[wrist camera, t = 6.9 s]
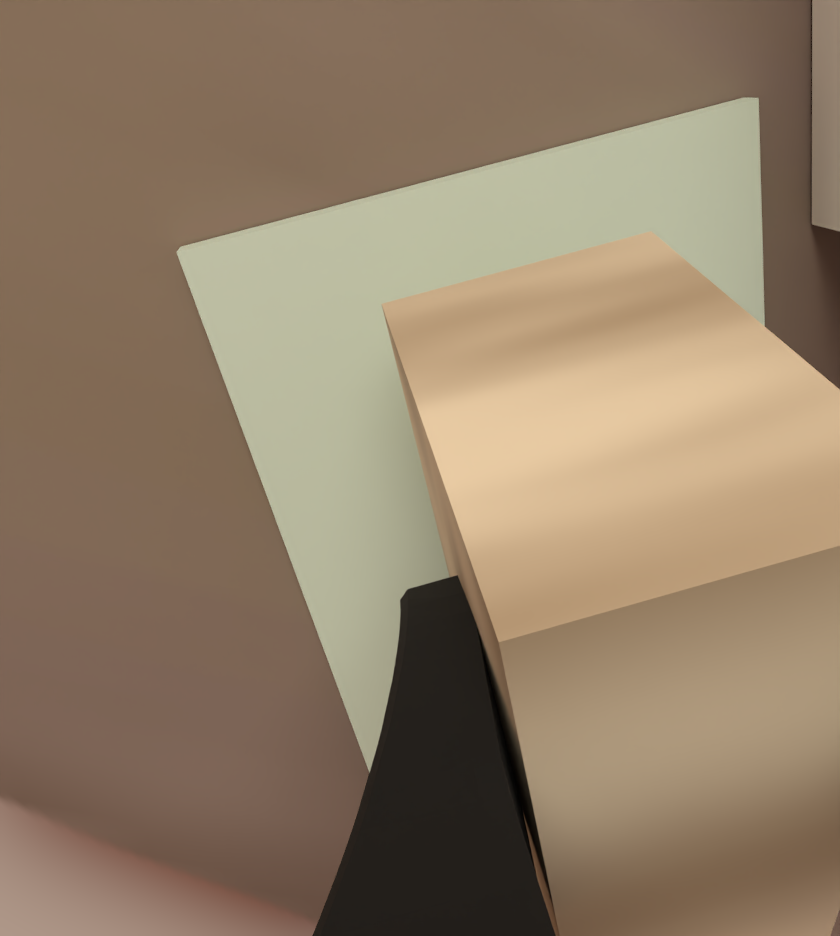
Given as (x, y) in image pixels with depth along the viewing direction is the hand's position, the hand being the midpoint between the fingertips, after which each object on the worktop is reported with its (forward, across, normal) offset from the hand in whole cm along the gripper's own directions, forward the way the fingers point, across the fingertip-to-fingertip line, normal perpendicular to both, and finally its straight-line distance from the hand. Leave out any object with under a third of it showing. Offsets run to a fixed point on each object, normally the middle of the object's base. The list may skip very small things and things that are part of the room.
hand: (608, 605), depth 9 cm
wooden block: (+3, 0, +1) cm, 3 cm away
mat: (+4, 0, +2) cm, 4 cm away
